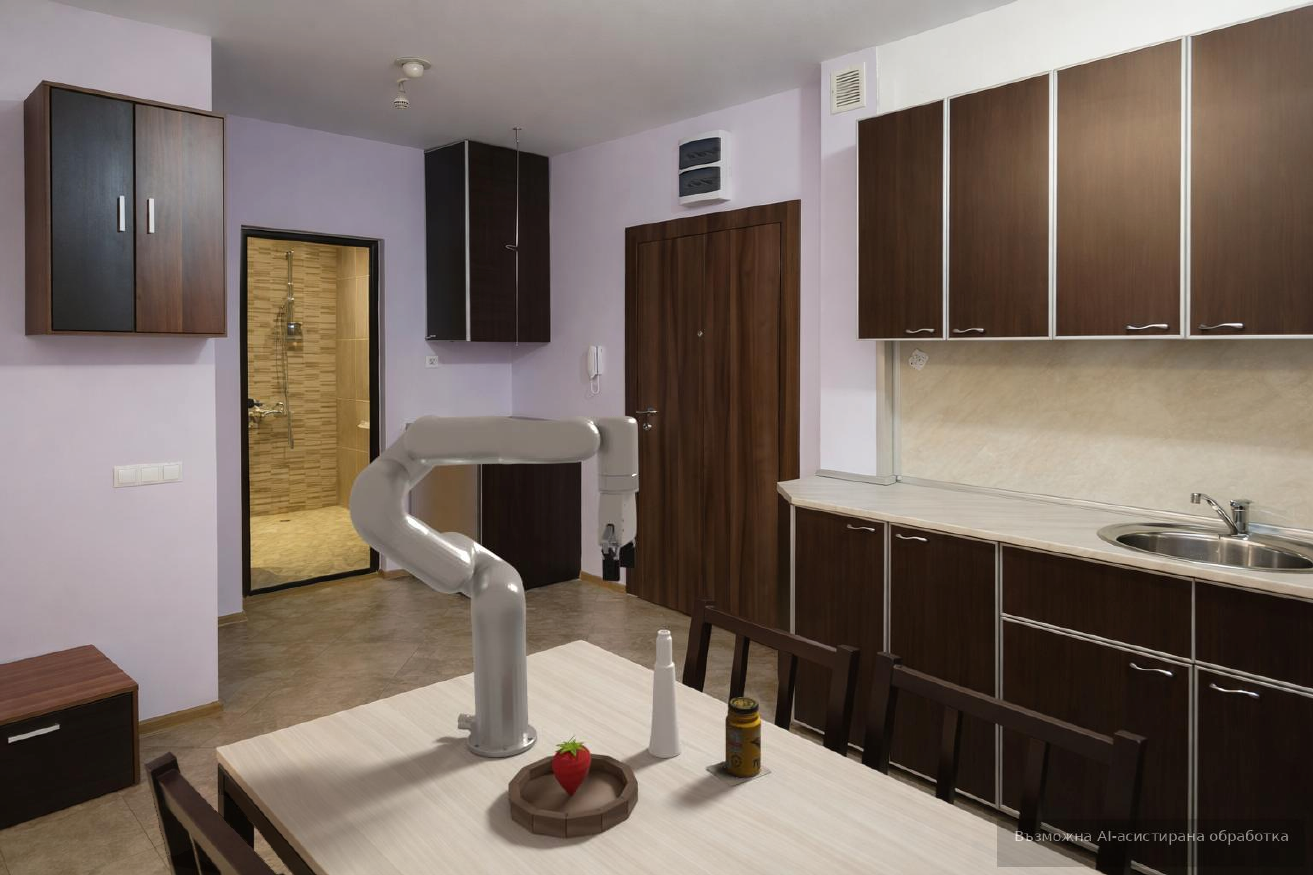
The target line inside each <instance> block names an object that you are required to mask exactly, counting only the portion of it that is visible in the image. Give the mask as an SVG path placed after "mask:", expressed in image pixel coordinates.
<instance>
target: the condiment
mask: <svg viewBox="0 0 1313 875" xmlns="http://www.w3.org/2000/svg"><path fill="white" fill-rule="evenodd" d="M727 703H728V704H727V715H726V716H725V725H724V726H725V738H724V739H725V761H720V762H718V763H715V764H712V765H708V766H706V769H707V770H709V771H710V772H711V773H712V774H714V775H715V776H716V777H718V778H719V779H721V780H722V781H724V782H726V784H728V785H730V786H731V787H734V786H736V785H739V784H741V783H745V782H747V781H751V780H753V779H757V778H759V777H762V776H765V775H767V774H770V773H771V772H772V771H771V770H770V769H768V768H766V767H764V766H763V765H761V764H762V762H761V761H762V738H761V737H762V720H761V717H760V713H759V711H760V710H759V708H760V705H759V703H758V701H757V700H755V699H754V698H750V697H746V696H744V697H743V696H739V697H733V698H731V699H730V700H729V701H728V702H727Z"/></svg>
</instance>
